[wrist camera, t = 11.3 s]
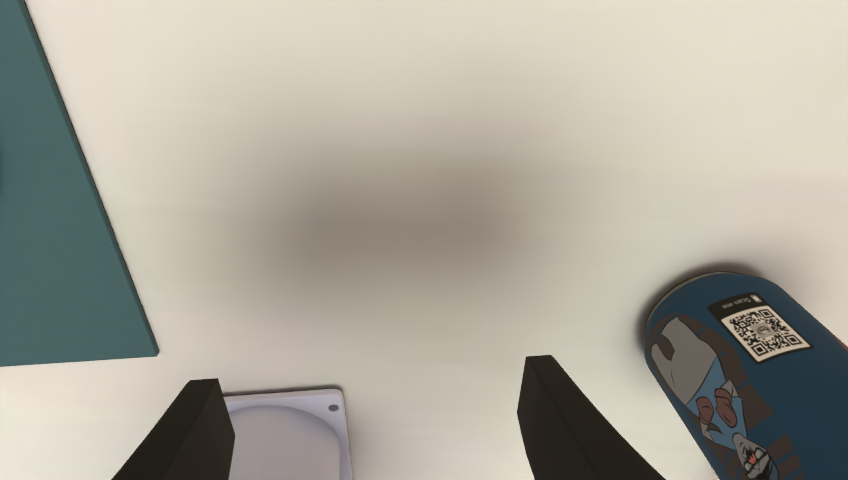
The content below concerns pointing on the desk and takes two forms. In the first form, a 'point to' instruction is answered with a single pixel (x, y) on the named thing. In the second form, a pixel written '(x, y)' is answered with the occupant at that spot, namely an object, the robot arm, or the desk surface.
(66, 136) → the mouse pad
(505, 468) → the desk surface
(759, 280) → the soda can
